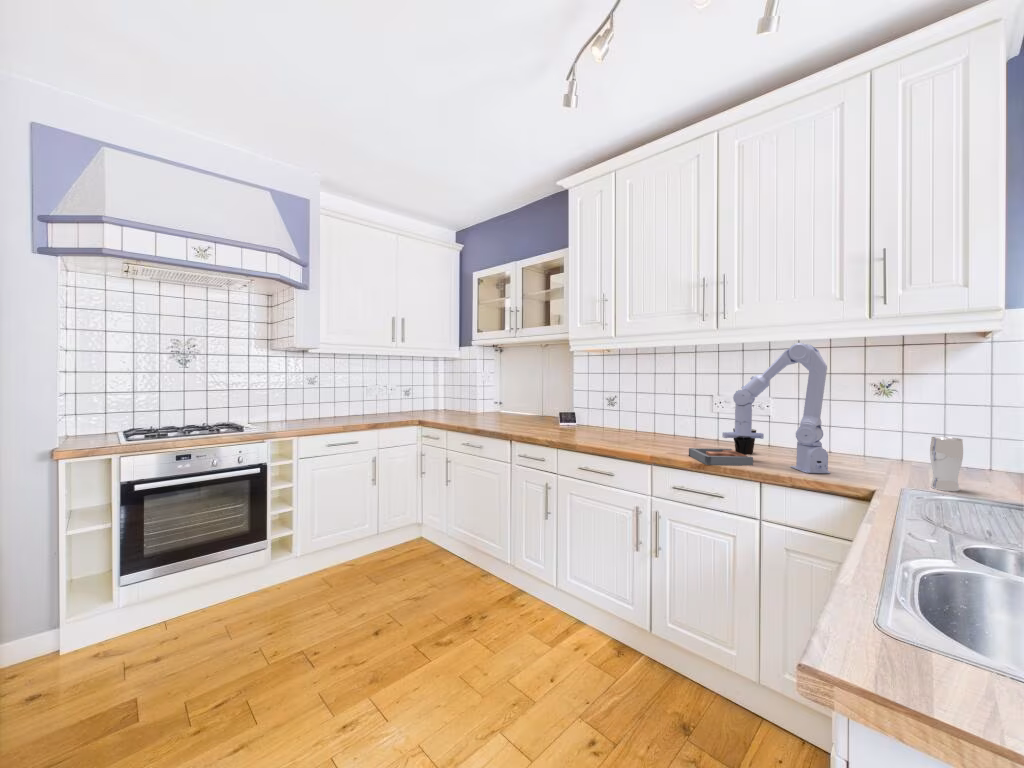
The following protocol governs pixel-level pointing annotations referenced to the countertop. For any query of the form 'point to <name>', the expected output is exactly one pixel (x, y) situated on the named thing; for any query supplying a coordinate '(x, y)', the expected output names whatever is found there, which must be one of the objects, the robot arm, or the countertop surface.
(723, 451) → the t block
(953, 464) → the beer glass
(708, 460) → the dock
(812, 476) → the countertop surface
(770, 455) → the countertop surface
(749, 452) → the coffee mug
